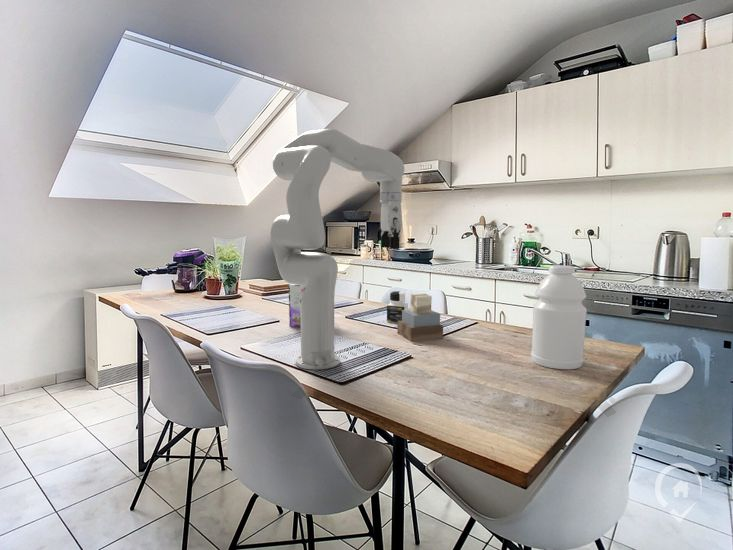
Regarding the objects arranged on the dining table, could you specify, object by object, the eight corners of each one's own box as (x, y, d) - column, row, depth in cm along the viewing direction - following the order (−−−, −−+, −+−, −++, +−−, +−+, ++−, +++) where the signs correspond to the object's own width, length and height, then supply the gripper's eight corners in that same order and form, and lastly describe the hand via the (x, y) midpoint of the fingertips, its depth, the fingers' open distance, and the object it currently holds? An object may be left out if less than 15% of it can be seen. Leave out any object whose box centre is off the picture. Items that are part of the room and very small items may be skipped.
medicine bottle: (386, 322, 178) (386, 292, 177) (390, 318, 185) (391, 290, 184) (404, 323, 176) (404, 293, 175) (407, 319, 183) (408, 291, 181)
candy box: (327, 324, 174) (326, 282, 172) (324, 327, 169) (324, 285, 167) (292, 323, 176) (292, 282, 174) (288, 326, 170) (288, 284, 168)
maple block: (431, 313, 154) (431, 296, 154) (416, 314, 153) (416, 296, 152) (424, 310, 160) (424, 293, 159) (410, 310, 158) (410, 294, 157)
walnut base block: (442, 339, 154) (443, 325, 153) (411, 342, 150) (411, 328, 149) (427, 331, 165) (427, 318, 164) (397, 334, 161) (397, 320, 160)
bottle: (551, 372, 120) (557, 269, 117) (520, 357, 133) (525, 264, 130) (594, 367, 124) (601, 268, 120) (560, 353, 137) (565, 263, 134)
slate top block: (439, 325, 154) (440, 313, 153) (413, 327, 151) (413, 315, 150) (426, 319, 163) (427, 308, 163) (401, 321, 160) (402, 310, 160)
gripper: (410, 197, 146) (408, 249, 148) (392, 200, 163) (391, 246, 165) (388, 196, 144) (387, 249, 146) (373, 199, 161) (372, 246, 163)
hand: (389, 248), depth 155 cm, fingers open, 9 cm apart
